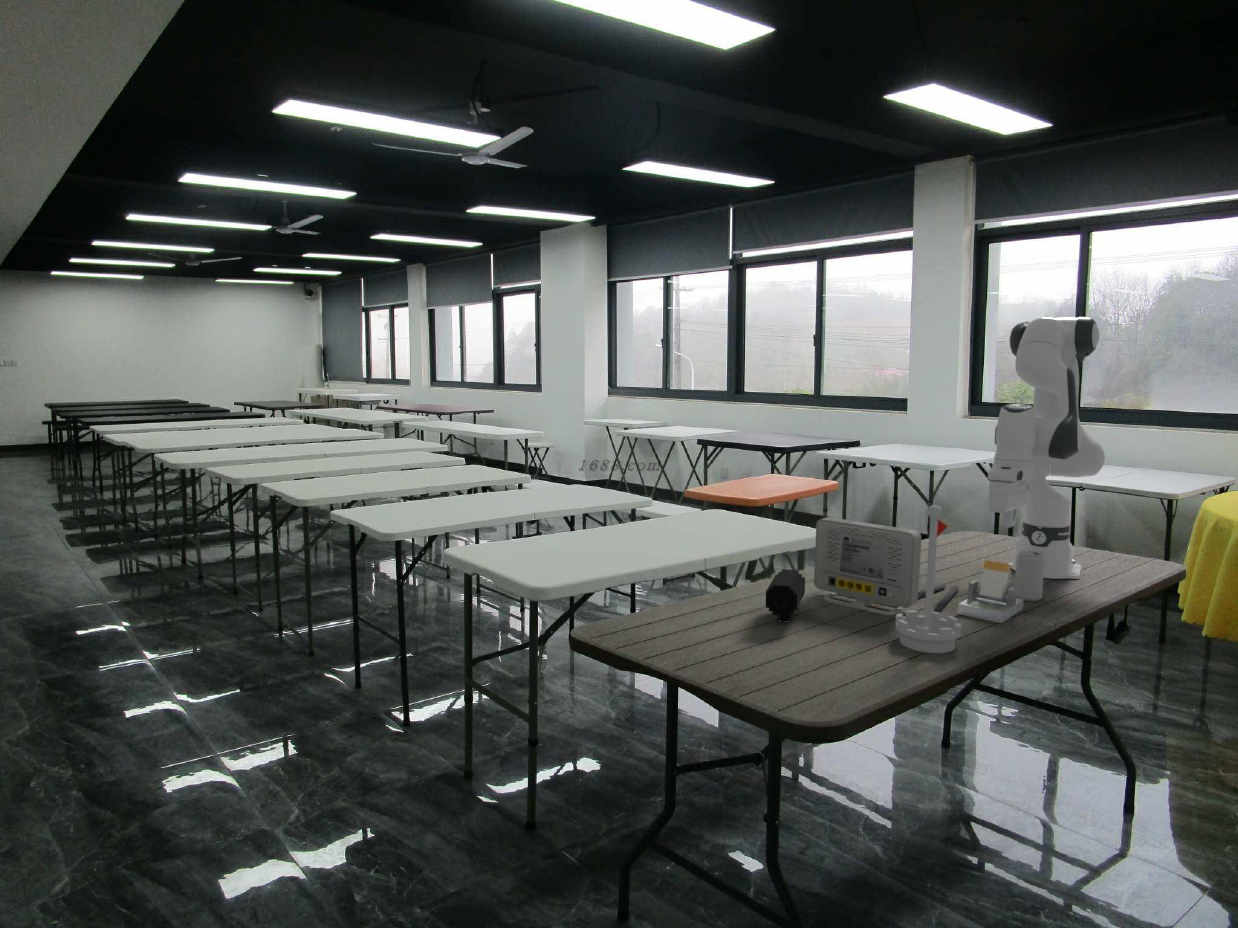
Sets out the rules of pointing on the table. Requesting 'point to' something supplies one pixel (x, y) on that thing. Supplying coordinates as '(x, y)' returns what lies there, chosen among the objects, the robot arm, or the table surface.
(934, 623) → the flag stand
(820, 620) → the table surface
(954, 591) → the dark grey rod
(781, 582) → the security camera
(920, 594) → the cord
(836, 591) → the network device
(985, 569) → the breaker lever
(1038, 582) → the beverage can
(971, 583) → the breaker panel
